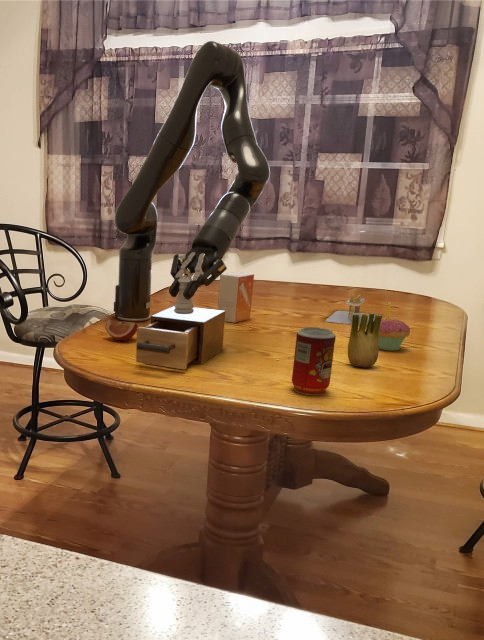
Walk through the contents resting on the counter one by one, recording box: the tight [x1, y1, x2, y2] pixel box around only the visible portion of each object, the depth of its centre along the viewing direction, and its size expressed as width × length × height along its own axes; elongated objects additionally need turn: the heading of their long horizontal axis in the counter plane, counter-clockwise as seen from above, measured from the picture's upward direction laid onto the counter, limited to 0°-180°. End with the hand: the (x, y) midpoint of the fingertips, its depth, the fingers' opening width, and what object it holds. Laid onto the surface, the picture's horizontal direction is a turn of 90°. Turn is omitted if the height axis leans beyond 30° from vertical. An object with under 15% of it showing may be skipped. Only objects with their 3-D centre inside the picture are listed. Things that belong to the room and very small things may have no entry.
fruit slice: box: [104, 318, 139, 342], centre depth 173 cm, size 8×7×5 cm
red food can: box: [291, 326, 336, 396], centre depth 133 cm, size 7×7×12 cm
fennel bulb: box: [347, 311, 383, 369], centre depth 150 cm, size 6×5×12 cm
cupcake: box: [379, 299, 411, 352], centre depth 164 cm, size 9×8×12 cm
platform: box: [325, 293, 377, 327], centre depth 198 cm, size 12×18×7 cm, turn 148°
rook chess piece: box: [173, 274, 195, 314], centre depth 150 cm, size 4×4×8 cm
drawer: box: [135, 320, 201, 370], centre depth 150 cm, size 18×11×8 cm, turn 149°
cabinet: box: [150, 305, 226, 365], centre depth 160 cm, size 15×13×10 cm
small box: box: [217, 271, 255, 323], centre depth 195 cm, size 8×6×13 cm
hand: (178, 295), depth 149 cm, fingers closed on rook chess piece, 3 cm apart
